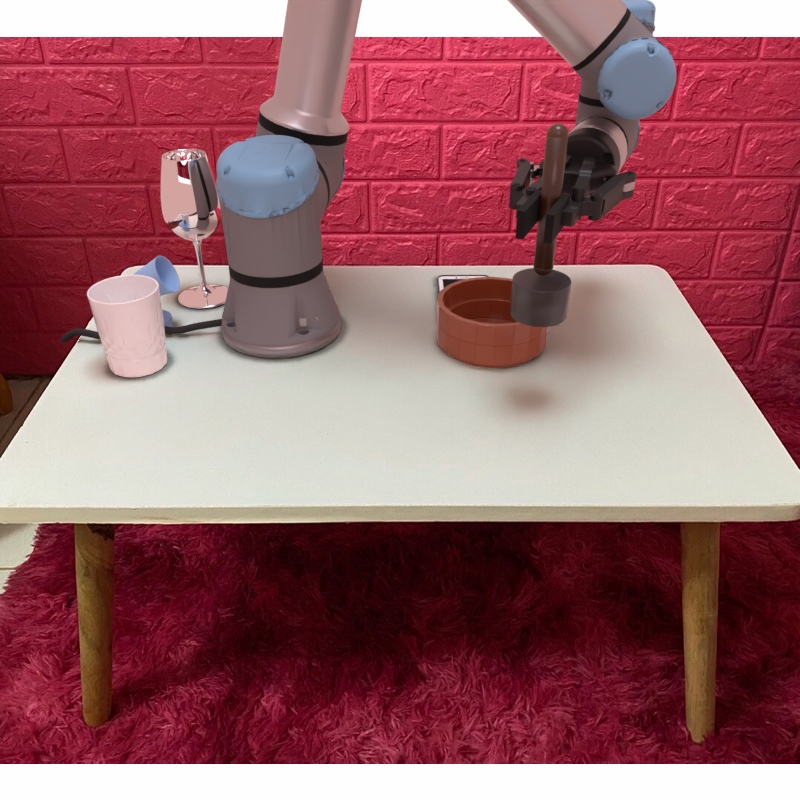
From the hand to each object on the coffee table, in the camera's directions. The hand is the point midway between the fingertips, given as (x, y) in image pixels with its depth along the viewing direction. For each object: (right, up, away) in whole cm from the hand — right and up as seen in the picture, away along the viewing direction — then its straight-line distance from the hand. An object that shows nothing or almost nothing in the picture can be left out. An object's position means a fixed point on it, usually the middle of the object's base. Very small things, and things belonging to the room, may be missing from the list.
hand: (534, 227), depth 71 cm
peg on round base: (+2, -7, +11) cm, 13 cm away
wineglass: (-40, -2, +38) cm, 55 cm away
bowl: (-1, -9, +27) cm, 28 cm away
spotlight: (-44, -7, +30) cm, 54 cm away
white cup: (-44, -12, +23) cm, 51 cm away
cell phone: (-3, -2, +38) cm, 38 cm away
